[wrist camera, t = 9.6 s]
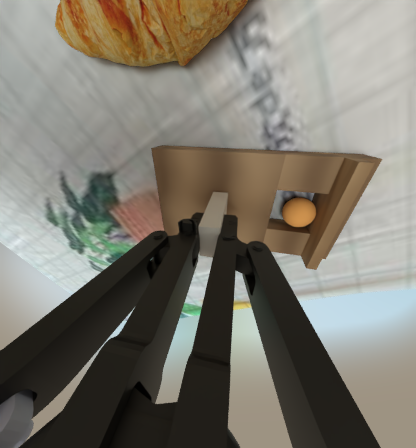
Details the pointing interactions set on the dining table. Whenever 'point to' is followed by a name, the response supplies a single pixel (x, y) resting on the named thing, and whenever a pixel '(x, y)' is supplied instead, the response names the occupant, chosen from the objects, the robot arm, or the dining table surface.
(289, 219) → the ball
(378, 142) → the dining table surface
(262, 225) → the wooden tray with slot
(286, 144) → the dining table surface
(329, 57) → the dining table surface
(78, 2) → the croissant
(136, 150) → the dining table surface
